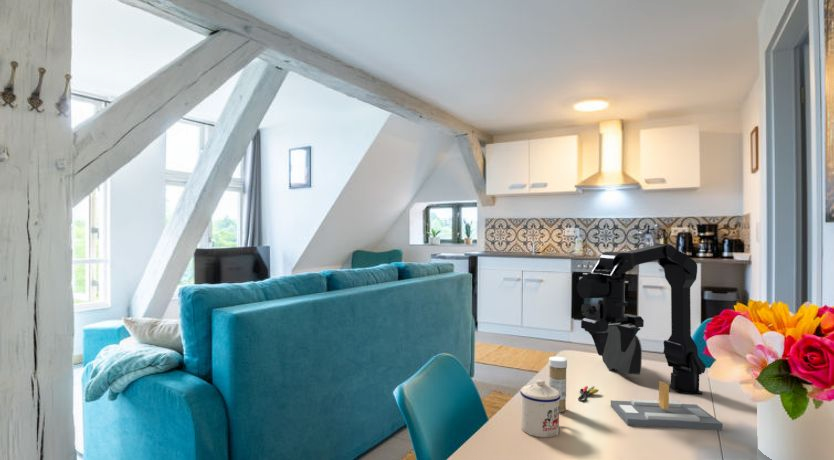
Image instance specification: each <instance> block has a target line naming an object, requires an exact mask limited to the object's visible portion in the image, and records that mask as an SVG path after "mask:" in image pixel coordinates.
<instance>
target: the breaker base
mask: <svg viewBox="0 0 834 460" xmlns="http://www.w3.org/2000/svg"><path fill="white" fill-rule="evenodd" d="M610 407H611V409H612V410H613V411H614V412H615V413H616V414H617V415H618V416H619V418H620V419H621V420H622V421H623V422H624V423H625V424H626V425H627V426H630V427H631V426H632V427H650V428H651V427H653V428H669V429H671V428H673V429H687V430H688V429H690V430H691V429H692V430H707V431H711V430H712V431H723V429H724V427H723V426H724V423H723V422H721V421H720V420H718V419H717V418H716V417H715V416H713V415H711V414H710V413H709V412H708V411H707V410H705V409H703V408H702V407H701V406H700V405H698V404H695V403H691V404H690V403H680V401H678V400H675V401H674V400H669V409H667V410H668V411H667V412H665V411H664V410H663V409H661V408H660V406H659V399H658V400H656V399H654V400H652V399H635V398H634V399H632V398H631V399H630V401H627V400H612V399H611V400H610Z"/></svg>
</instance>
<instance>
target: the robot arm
mask: <svg viewBox="0 0 834 460" xmlns="http://www.w3.org/2000/svg"><path fill="white" fill-rule="evenodd" d="M654 261H657V264H658V266H660V267H661V268H662V269H663V271H664V272H663V273H664V277H665V280H666V281H667V283H668V285H669V286H670V314H671V316H670V317H671V318H670V319H671V320H670V321H671V322H670V325H671V326H670V328H671V333H670V336H669V338H668V339H665V340H663V352H662V353H663V354H664V357H665V359H666V362H667V367H671V368H672V372H670V384H669V387H671V389H674V390H675V391H676V392H677V393H679V394H698V395H702V394H703V391H701V390H700V375H703V374H704V373H705V372H706V368H707V365H706V364H705V363H704V361H703V360H702V359H701V358H700V356H699V351H698V346H697V344H696V343H695V341H694V340H693V337H692V335H691V334H692V333H691V332H692V324H691V323H692V321H691V318H692V317H691V315H692V313H691V312H692V311H691V287H692V286H693V284H694V283H695V282H696V281H697V275H698V264H697V262H696V261H695V260H694V259H693V258H692V257H690V256H689V255H687V254H686V253H684V252H682V251H680V250H678V249H677V248H676V247H675V246H674V245H672V244H669V243H656V244H653V245H649V246H646V247H641V248H636V249H633V250H632V249H631V250H628V251H603V252H602V253H601V254H600V256H599V259H598V261H597V262H596V264H595V265H594V268H593V269H592V270H591V271H590V273H588V272H583V273H582V277H581V278H579V280H578V281H577V284H576V290H577V294H578V295H579V297H580V298H582V299H599V300H598V301H597V305H591V303H582V304H581V306H580V307H581V308H580V311H581V315H582V316H585V317H584V318H582V319H581V321H580V325H581V326H580V328H581V329H584V331H585V332H588V334H589V335H590V336H591V337H592V340H593V342H594V347H595V349H596V352H597V354H598V356H601V357H602V355H603V352H604V349H605V345H606V341H607V337H608V333H609V332H605V331H607V329H608V326H617V328H618V329H619V331H620V342H621V351H622V352H626V350H627V348H628V347H629V345H630V343H631V341H632V340H633V338H634V337H635V335H637V334H638V332H639V331H641V328H644V323H645V321H644V319H643V317H642V316H639V315H636V314H631V313H630V314H629V313H625V307H628V306H629V302H628V301H625V300H626V299H625V297H626V296H625V292H626V282H632V278H631V277H630V276H629V275H628V274H627V273H628V272H630V271H631V270H633V269H634V268H635V267H636V266H638V265H643V264H646V263H647V264H648V263H650V262H654Z"/></svg>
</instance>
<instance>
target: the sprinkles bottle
mask: <svg viewBox="0 0 834 460" xmlns="http://www.w3.org/2000/svg"><path fill="white" fill-rule="evenodd" d="M548 366H549V370H548V372H549V374H548V386H550V387H552V388H554V389H556V390H557V391H558V392H559V393H560V399H559V413H564V412H566V410H567V407H566V404H567V403H566V401H567V399H566V398H567V367H568V360H567V359H566V358H565V357H564V356H562V357H561V356H550V357H549V358H548Z"/></svg>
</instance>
